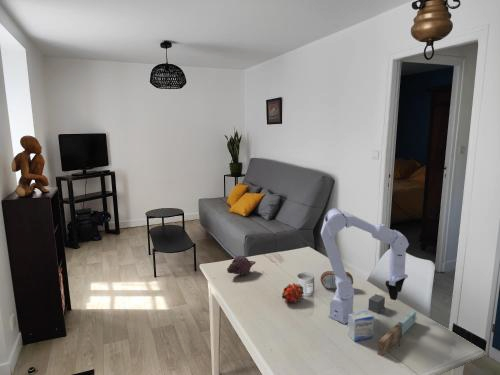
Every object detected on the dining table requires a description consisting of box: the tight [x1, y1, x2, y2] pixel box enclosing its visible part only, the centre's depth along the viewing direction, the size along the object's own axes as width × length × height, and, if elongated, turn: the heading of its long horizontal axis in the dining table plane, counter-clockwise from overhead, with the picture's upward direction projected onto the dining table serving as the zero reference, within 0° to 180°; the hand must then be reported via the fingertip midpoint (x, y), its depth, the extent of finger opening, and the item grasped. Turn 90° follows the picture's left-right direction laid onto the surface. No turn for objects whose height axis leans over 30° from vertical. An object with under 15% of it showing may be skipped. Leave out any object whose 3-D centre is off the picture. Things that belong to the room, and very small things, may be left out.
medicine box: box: [347, 310, 375, 342], centre depth 126 cm, size 8×4×9 cm, turn 105°
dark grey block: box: [367, 293, 386, 314], centre depth 144 cm, size 6×4×5 cm, turn 133°
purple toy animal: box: [226, 255, 256, 276], centre depth 179 cm, size 18×10×10 cm, turn 129°
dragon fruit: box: [281, 282, 305, 304], centre depth 152 cm, size 8×8×12 cm
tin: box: [320, 270, 354, 290], centre depth 163 cm, size 15×3×8 cm, turn 84°
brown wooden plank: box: [377, 321, 403, 357], centre depth 121 cm, size 16×2×5 cm, turn 133°
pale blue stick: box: [399, 310, 418, 335], centre depth 130 cm, size 12×2×4 cm, turn 133°
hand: (395, 295), depth 137 cm, fingers open, 7 cm apart
